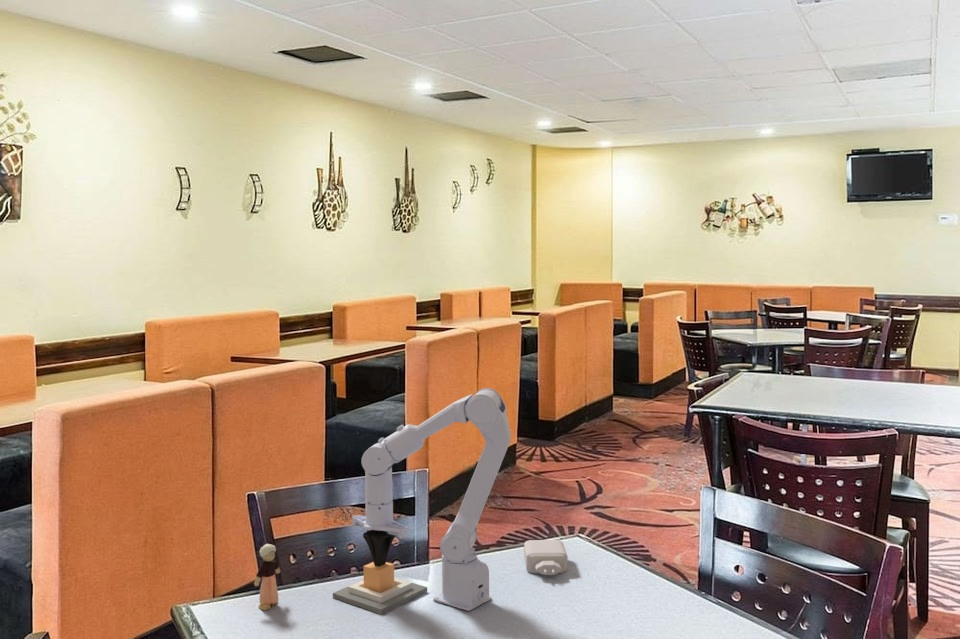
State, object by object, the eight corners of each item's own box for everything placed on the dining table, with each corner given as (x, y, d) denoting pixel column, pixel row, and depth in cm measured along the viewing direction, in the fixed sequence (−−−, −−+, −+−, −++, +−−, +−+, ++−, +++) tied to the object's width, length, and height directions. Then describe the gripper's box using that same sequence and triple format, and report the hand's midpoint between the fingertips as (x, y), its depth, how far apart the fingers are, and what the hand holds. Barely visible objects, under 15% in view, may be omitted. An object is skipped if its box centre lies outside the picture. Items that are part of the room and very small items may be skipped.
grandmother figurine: (269, 613, 160) (268, 550, 159) (251, 611, 161) (250, 549, 160) (286, 597, 168) (285, 538, 167) (269, 596, 168) (268, 537, 168)
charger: (528, 584, 175) (524, 559, 190) (570, 583, 175) (563, 559, 190) (528, 562, 174) (524, 540, 189) (570, 562, 174) (563, 539, 189)
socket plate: (427, 591, 170) (427, 581, 170) (381, 614, 159) (381, 603, 159) (379, 577, 179) (379, 567, 178) (332, 597, 167) (332, 587, 167)
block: (394, 589, 169) (393, 564, 169) (379, 596, 165) (379, 570, 165) (378, 584, 172) (378, 559, 171) (363, 591, 168) (363, 566, 168)
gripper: (340, 499, 169) (341, 563, 170) (391, 511, 160) (392, 578, 161) (364, 492, 174) (365, 553, 175) (414, 503, 166) (415, 567, 167)
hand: (379, 564), depth 168 cm, fingers closed, pressing on block
